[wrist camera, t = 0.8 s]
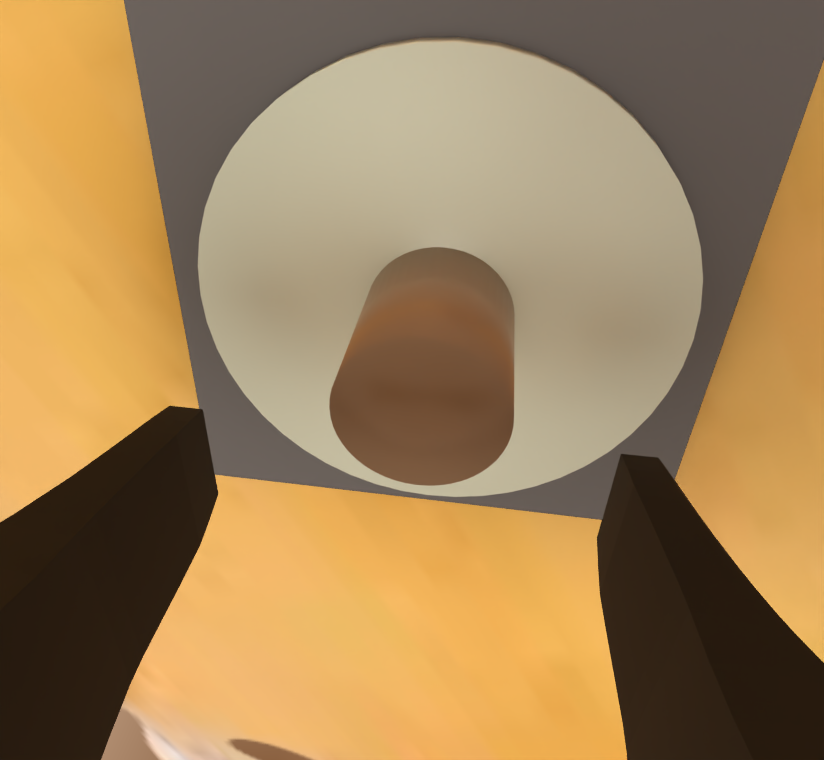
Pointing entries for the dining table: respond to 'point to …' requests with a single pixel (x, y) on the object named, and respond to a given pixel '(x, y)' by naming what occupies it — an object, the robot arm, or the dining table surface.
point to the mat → (524, 28)
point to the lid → (450, 267)
